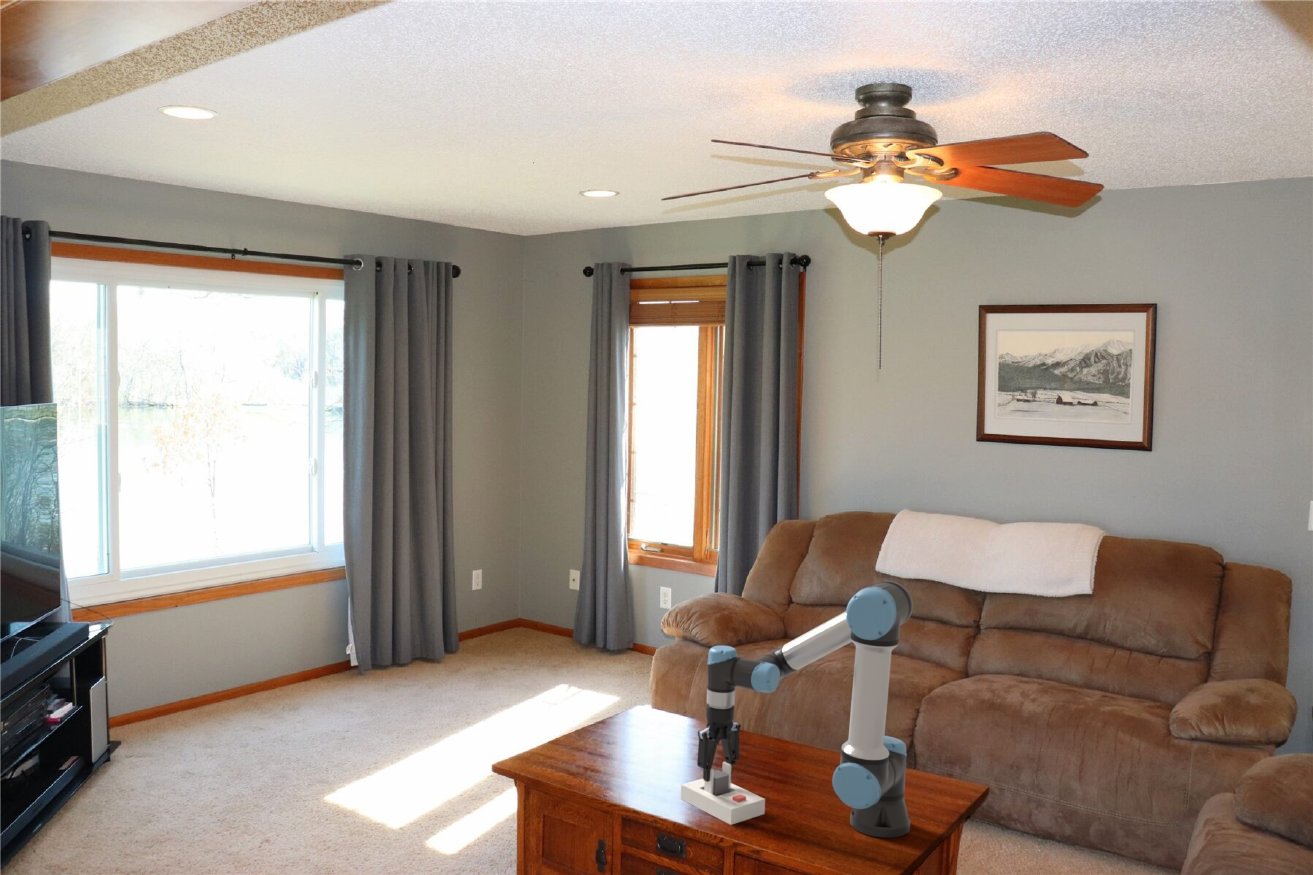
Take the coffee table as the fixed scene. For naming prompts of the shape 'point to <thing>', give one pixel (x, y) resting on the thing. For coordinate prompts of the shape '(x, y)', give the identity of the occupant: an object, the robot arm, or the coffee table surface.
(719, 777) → the plug
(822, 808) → the coffee table surface
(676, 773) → the coffee table surface
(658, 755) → the coffee table surface
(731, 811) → the socket plate
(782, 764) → the coffee table surface
